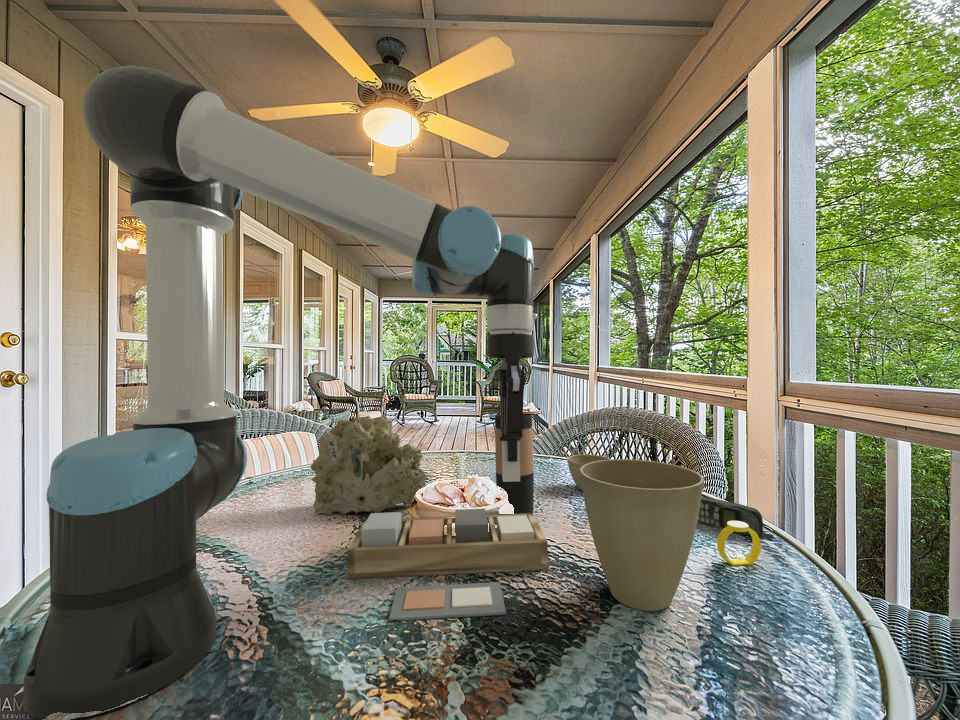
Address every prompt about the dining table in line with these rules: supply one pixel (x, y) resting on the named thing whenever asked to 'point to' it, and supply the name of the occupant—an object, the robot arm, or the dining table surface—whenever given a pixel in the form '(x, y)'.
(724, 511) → the mobile phone
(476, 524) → the grey rectangular block
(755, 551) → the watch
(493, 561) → the wooden compartment tray
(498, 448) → the travel mug
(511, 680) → the dining table surface
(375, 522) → the key bluegrey
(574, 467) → the flower pot
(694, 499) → the plant pot
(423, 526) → the key terracotta
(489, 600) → the card
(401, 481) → the coral
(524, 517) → the cream rectangular block
